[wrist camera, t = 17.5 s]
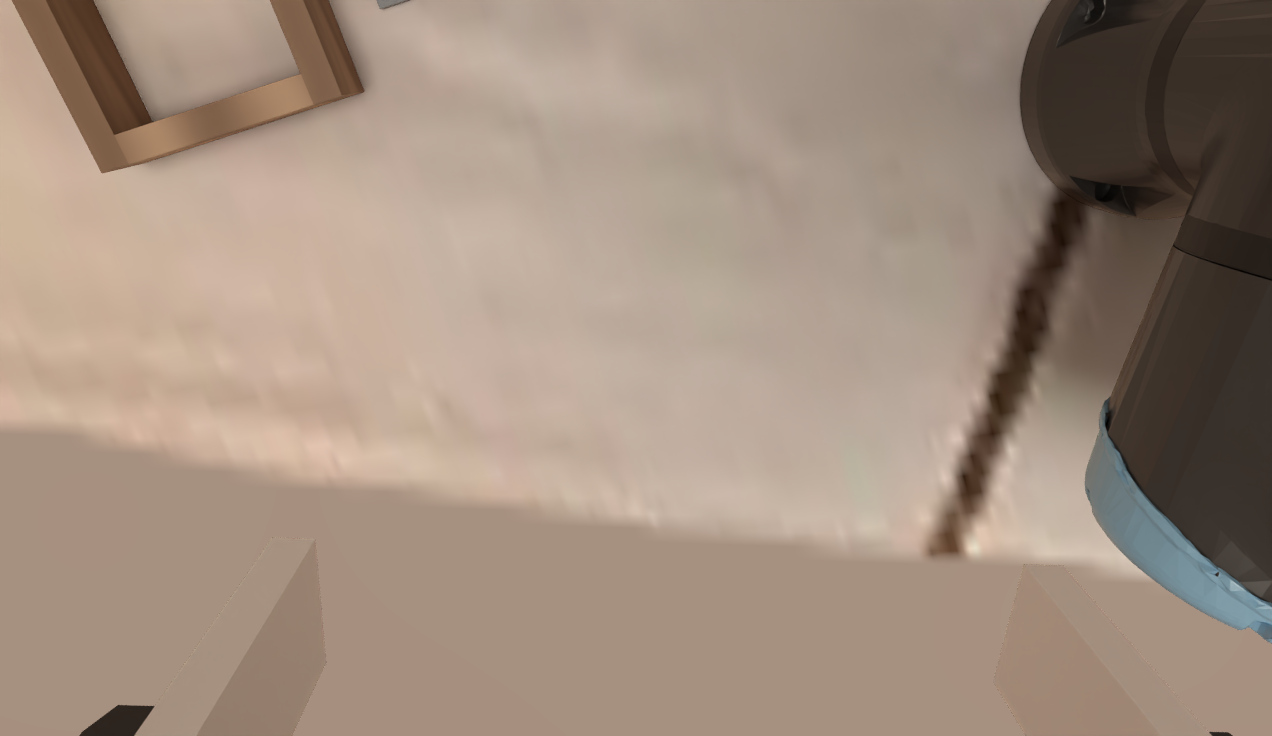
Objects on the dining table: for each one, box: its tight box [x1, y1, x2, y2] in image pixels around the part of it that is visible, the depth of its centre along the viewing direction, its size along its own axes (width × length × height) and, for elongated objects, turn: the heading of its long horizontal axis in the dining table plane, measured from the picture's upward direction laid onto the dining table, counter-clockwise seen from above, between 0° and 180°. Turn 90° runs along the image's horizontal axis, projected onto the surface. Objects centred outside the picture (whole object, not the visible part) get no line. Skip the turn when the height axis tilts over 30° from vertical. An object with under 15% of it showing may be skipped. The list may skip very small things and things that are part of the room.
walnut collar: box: [12, 0, 364, 173], centre depth 41 cm, size 13×13×4 cm
